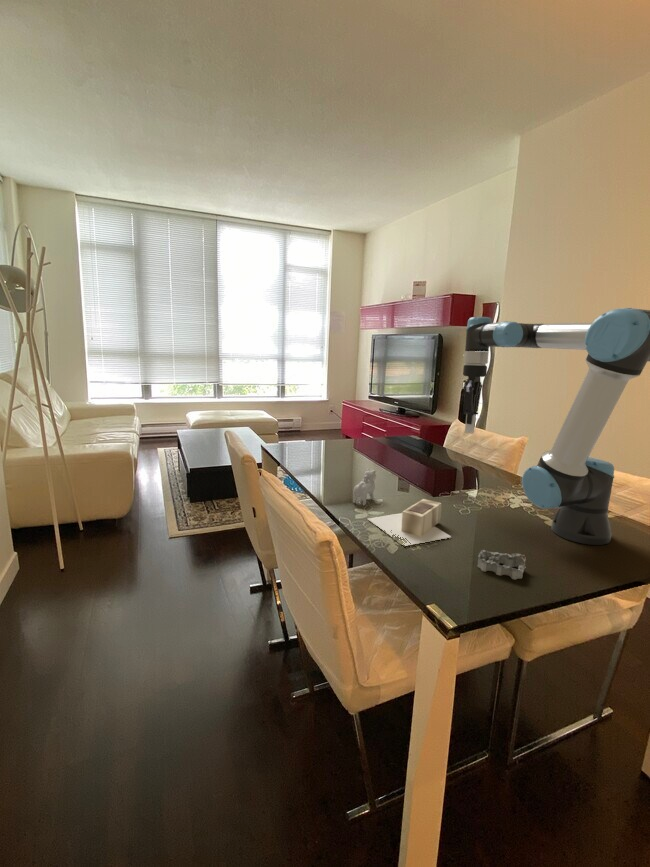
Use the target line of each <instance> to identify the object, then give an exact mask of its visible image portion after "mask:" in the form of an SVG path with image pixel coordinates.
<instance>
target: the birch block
mask: <svg viewBox="0 0 650 867" xmlns="http://www.w3.org/2000/svg"><path fill="white" fill-rule="evenodd" d="M401 513H402V528H401V531H403V532H407V533H410V534H413V535H416V536H420V537H421V536H422V535H423V534H425V533H426V532H427V531H428V530H430V529H431V528H432V527H434V526H435V527H436V525H438V524H439V523H440V522H441V516H442V515H441V514H442V503H441V502H438V501H435V500H430V499H426V498H422V499H421V500H419V501H417V502H416V503H414V504H412V505H410V506H409V507H408V508H406V509H404V510H403V511H402V512H401Z"/></svg>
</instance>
